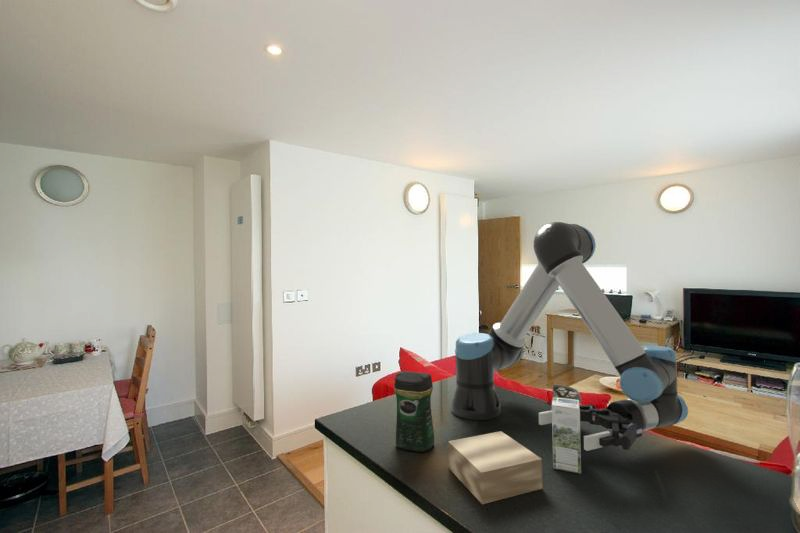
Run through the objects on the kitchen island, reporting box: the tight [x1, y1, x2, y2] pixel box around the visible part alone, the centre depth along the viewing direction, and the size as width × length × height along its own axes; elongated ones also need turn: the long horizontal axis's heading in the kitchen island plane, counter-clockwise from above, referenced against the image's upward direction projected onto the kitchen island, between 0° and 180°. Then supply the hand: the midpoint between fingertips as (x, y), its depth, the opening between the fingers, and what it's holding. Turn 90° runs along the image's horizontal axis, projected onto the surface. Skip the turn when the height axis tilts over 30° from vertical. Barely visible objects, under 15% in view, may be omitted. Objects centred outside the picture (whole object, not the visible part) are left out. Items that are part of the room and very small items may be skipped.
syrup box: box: [551, 396, 582, 475], centre depth 84 cm, size 6×6×14 cm
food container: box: [552, 383, 582, 404], centre depth 105 cm, size 12×6×10 cm, turn 168°
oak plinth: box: [447, 430, 543, 505], centre depth 80 cm, size 14×14×6 cm
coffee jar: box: [393, 370, 435, 453], centre depth 96 cm, size 10×8×19 cm
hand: (560, 430), depth 83 cm, fingers open, 13 cm apart
